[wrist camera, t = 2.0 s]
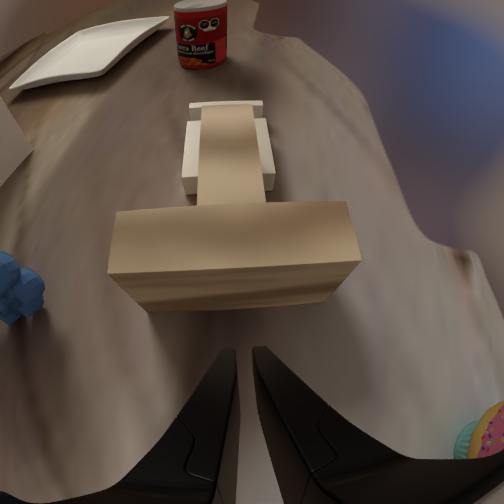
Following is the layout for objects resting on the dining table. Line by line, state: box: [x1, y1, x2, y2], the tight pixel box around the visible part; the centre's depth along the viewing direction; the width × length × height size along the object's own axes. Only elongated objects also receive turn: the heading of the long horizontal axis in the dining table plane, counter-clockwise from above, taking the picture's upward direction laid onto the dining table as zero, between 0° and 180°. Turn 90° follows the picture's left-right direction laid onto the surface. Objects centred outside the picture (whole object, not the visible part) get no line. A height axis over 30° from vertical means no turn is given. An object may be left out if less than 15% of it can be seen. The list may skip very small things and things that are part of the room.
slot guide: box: [182, 101, 276, 195], centre depth 28 cm, size 12×8×2 cm
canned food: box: [174, 0, 227, 69], centre depth 34 cm, size 8×8×11 cm
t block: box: [107, 104, 362, 312], centre depth 22 cm, size 14×14×8 cm
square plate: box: [9, 16, 169, 90], centre depth 41 cm, size 27×27×4 cm
